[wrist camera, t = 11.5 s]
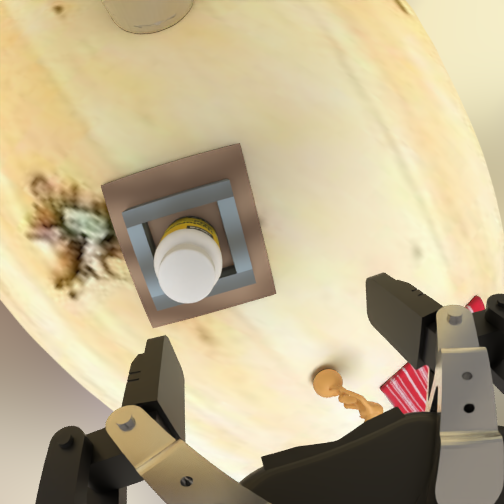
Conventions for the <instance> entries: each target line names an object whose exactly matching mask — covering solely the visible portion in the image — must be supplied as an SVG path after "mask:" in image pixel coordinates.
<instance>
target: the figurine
mask: <svg viewBox="0 0 504 504" xmlns="http://www.w3.org/2000/svg"><path fill="white" fill-rule="evenodd" d="M342 384H343V381H342V377H341V375H340V374H339V373H338V372H337V371H335V370H332V369H325V370H322V371H321V372H319V373H318V374H317V375H316V377H315V378H314V382H313V386H314V390H315V391H316V393H317V394H318V395H320V396H322V397H326V398H328V397H333V396H338V395H339V398H338V399H339V401H340V402H341V403H344V407H345V408H346V409H348V408H350V409H357V410H359V413H360V415H361V416H359V417H361V418H364V419H365V421H364V422H366V421H367V420H369V419H371V418H373V417H376V416H378V415H380V414H382V413H383V407H382V406H381V405H380V404H378V403H375V402H370V401H367V400H366V399H365V398H364V397H363V396H361V395H359V394H357V393H354V392H352V391H349V390H346V389H345V388H343V387H342ZM349 395H350V396H349Z"/></svg>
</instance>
